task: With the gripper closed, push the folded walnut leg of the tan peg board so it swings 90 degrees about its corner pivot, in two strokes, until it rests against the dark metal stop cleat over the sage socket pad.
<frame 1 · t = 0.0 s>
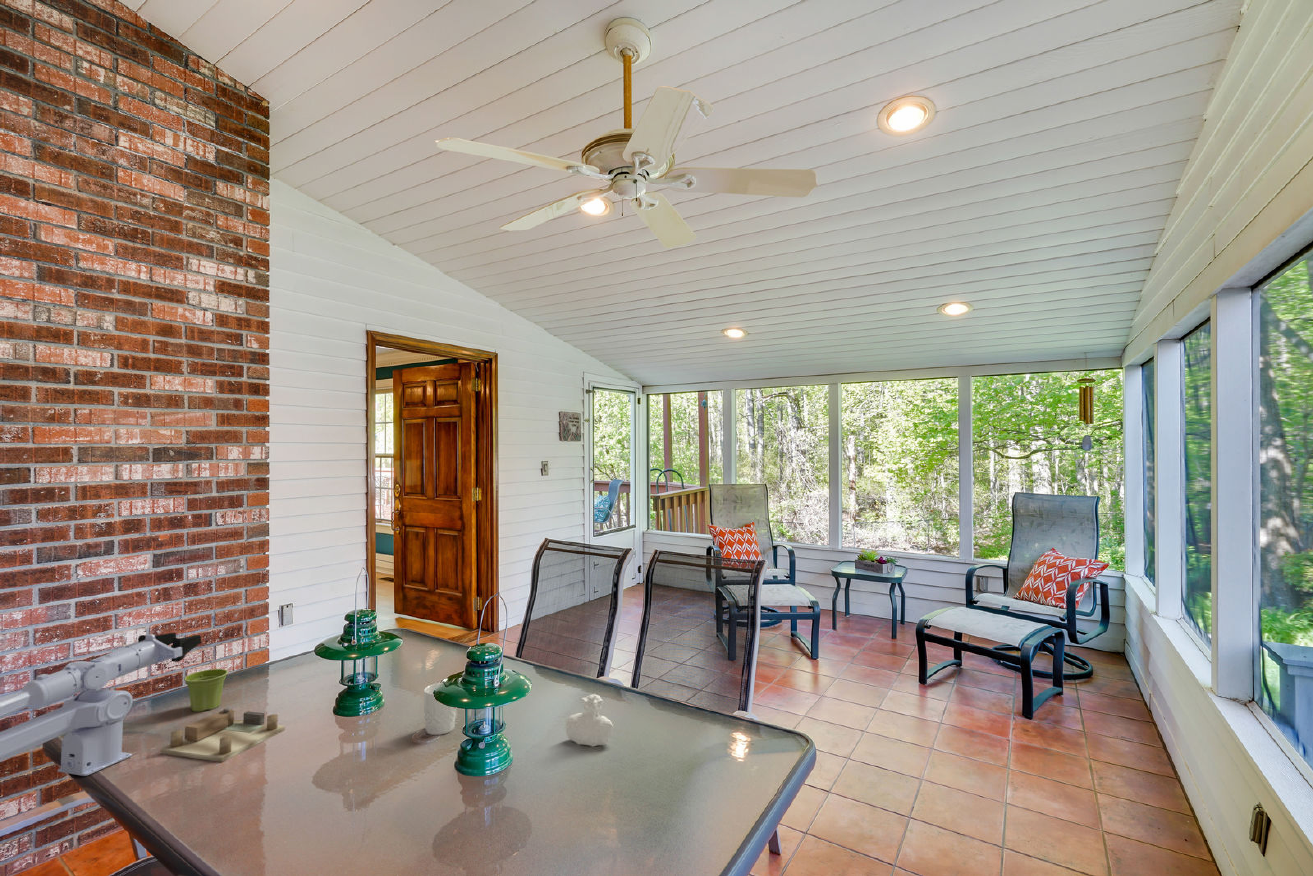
hand: (187, 638, 155), 22 cm above the table, tool horizontal, fingers open, 7 cm apart
hinged leg: (212, 723, 149), point 3 cm above the table, hinge at 0.0°
plant pot: (205, 708, 166), on the table
white sack: (590, 741, 148), on the table
tan peg board: (225, 741, 146), on the table
white cup: (440, 730, 154), on the table
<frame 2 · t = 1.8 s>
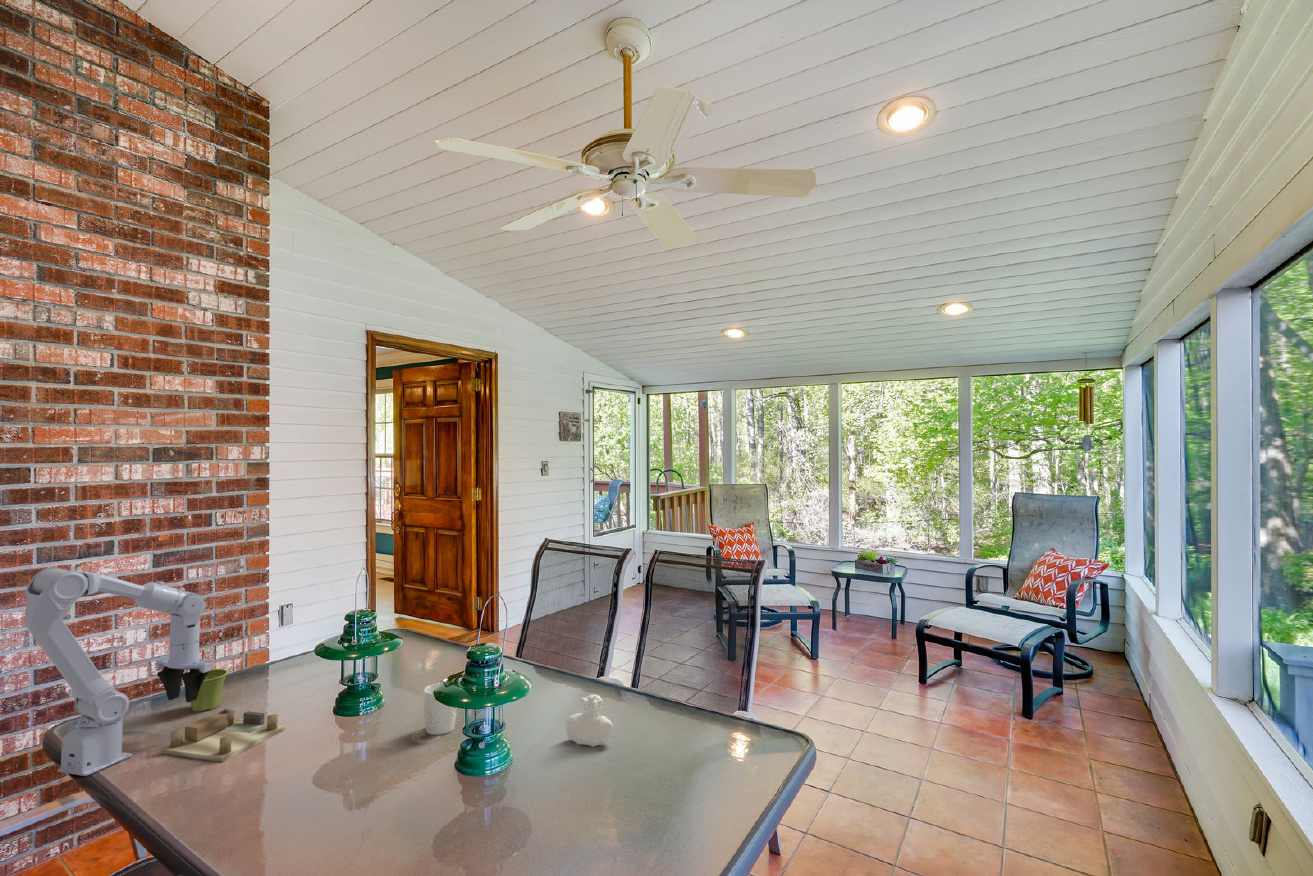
hand: (182, 699, 149), 8 cm above the table, tool pointing down, fingers open, 5 cm apart
nothing on the table moved.
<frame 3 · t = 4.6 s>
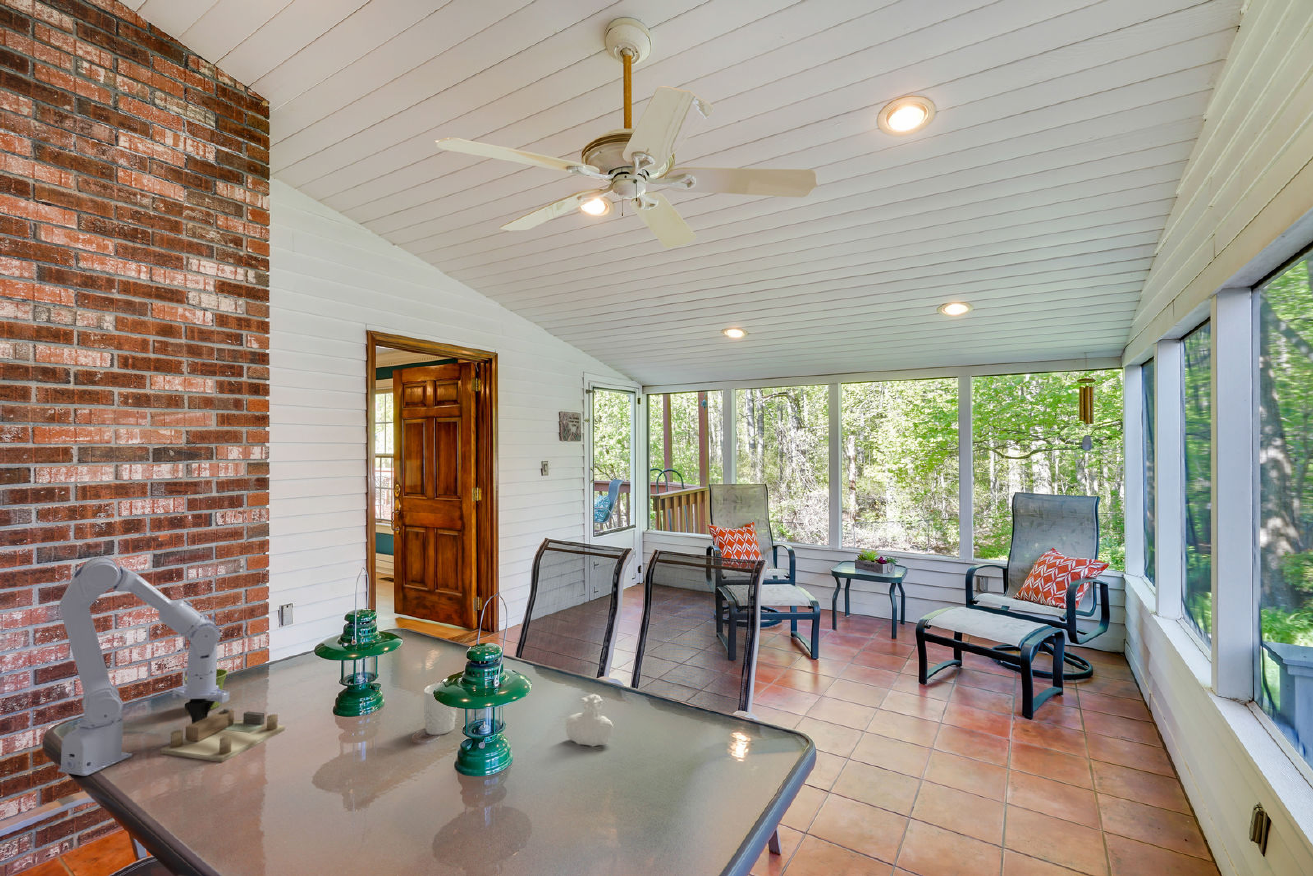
hand: (199, 730, 148), 2 cm above the table, tool pointing down, fingers closed, pressing on hinged leg
hinged leg: (212, 723, 149), point 3 cm above the table, hinge at 1.6°, touching gripper
everything else where it was.
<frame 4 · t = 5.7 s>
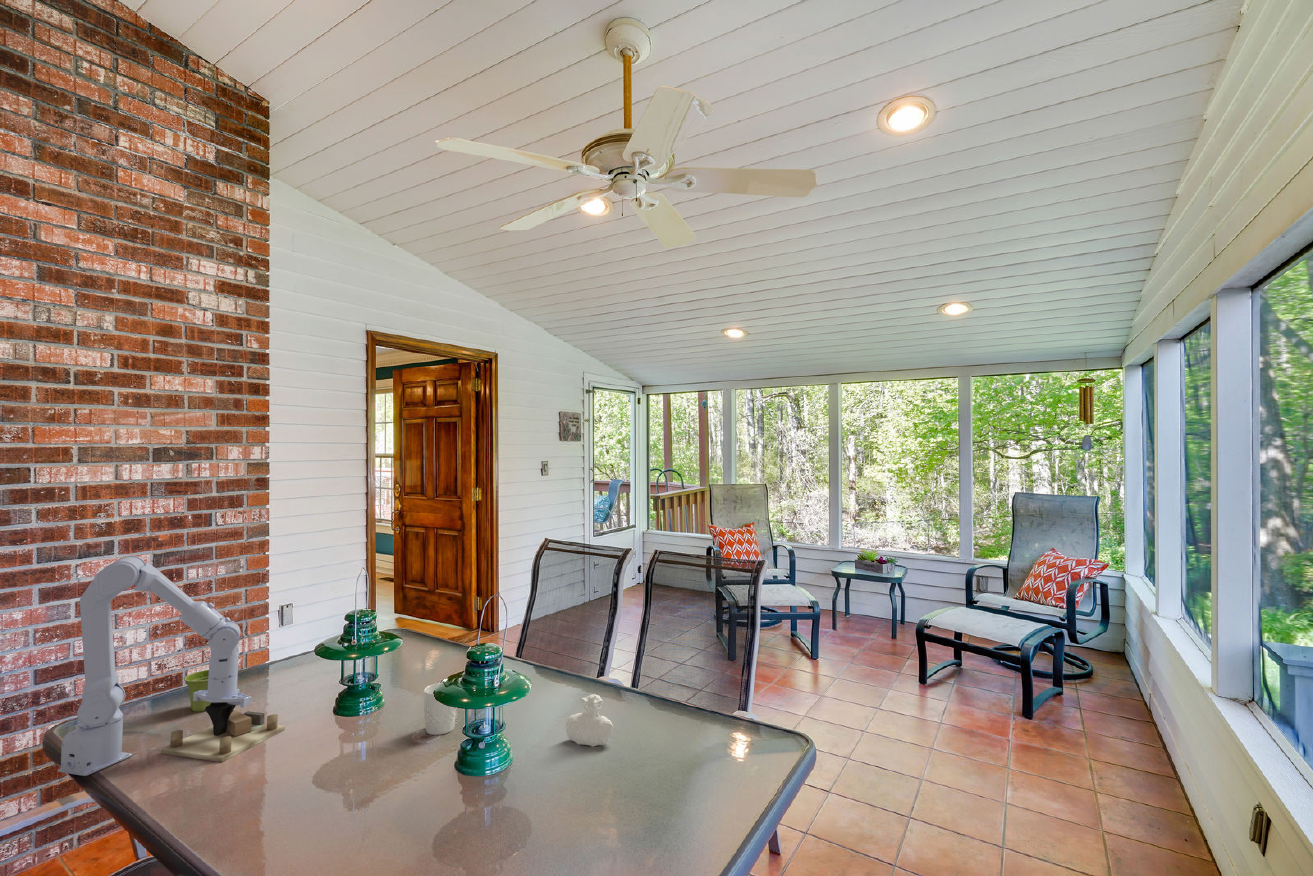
hand: (220, 734, 146), 2 cm above the table, tool pointing down, fingers closed, pressing on hinged leg
hinged leg: (233, 720, 150), point 3 cm above the table, hinge at 70.0°, touching gripper
everything else where it was.
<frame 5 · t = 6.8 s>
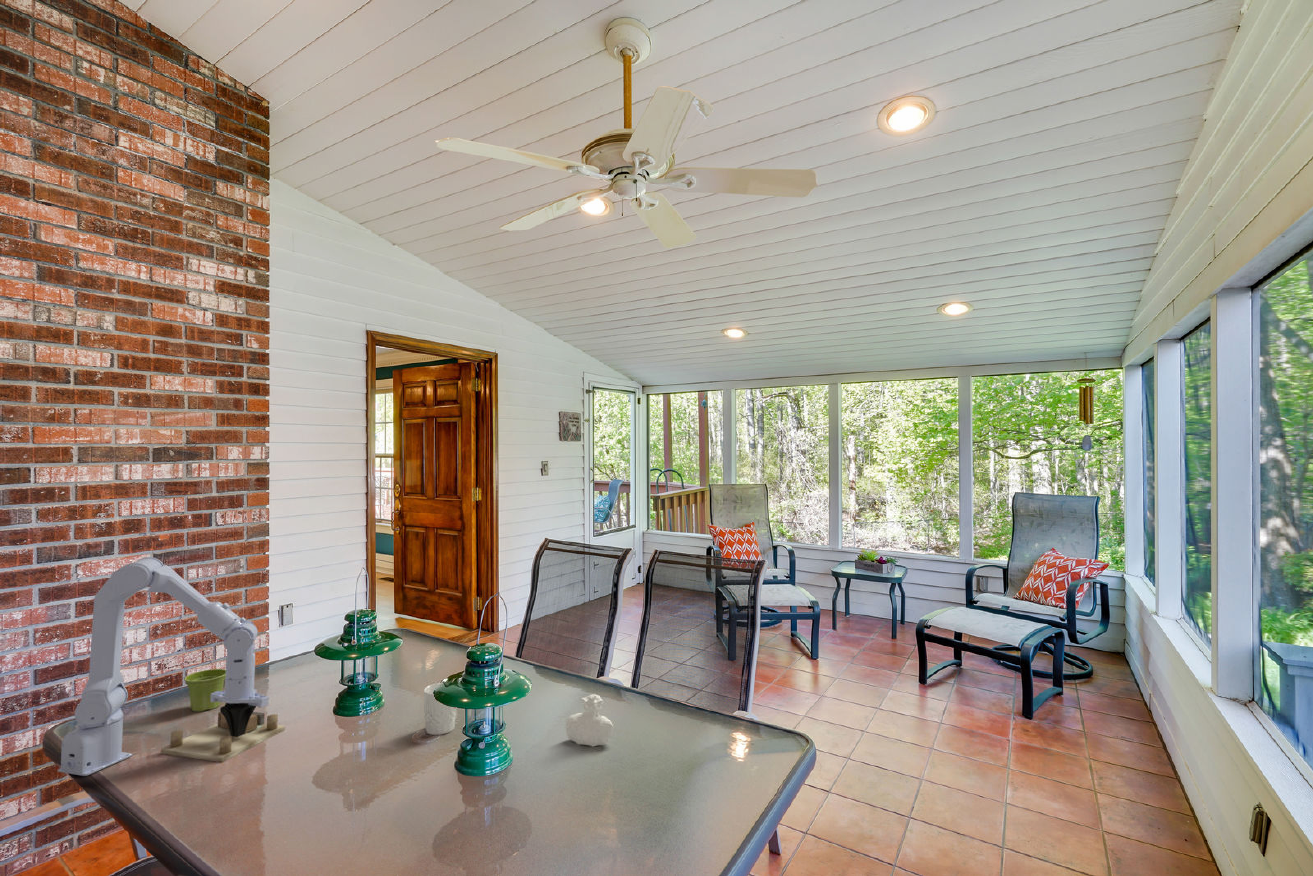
hand: (238, 735, 145), 2 cm above the table, tool pointing down, fingers closed
hinged leg: (235, 719, 151), point 3 cm above the table, hinge at 79.4°, touching gripper
everything else where it was.
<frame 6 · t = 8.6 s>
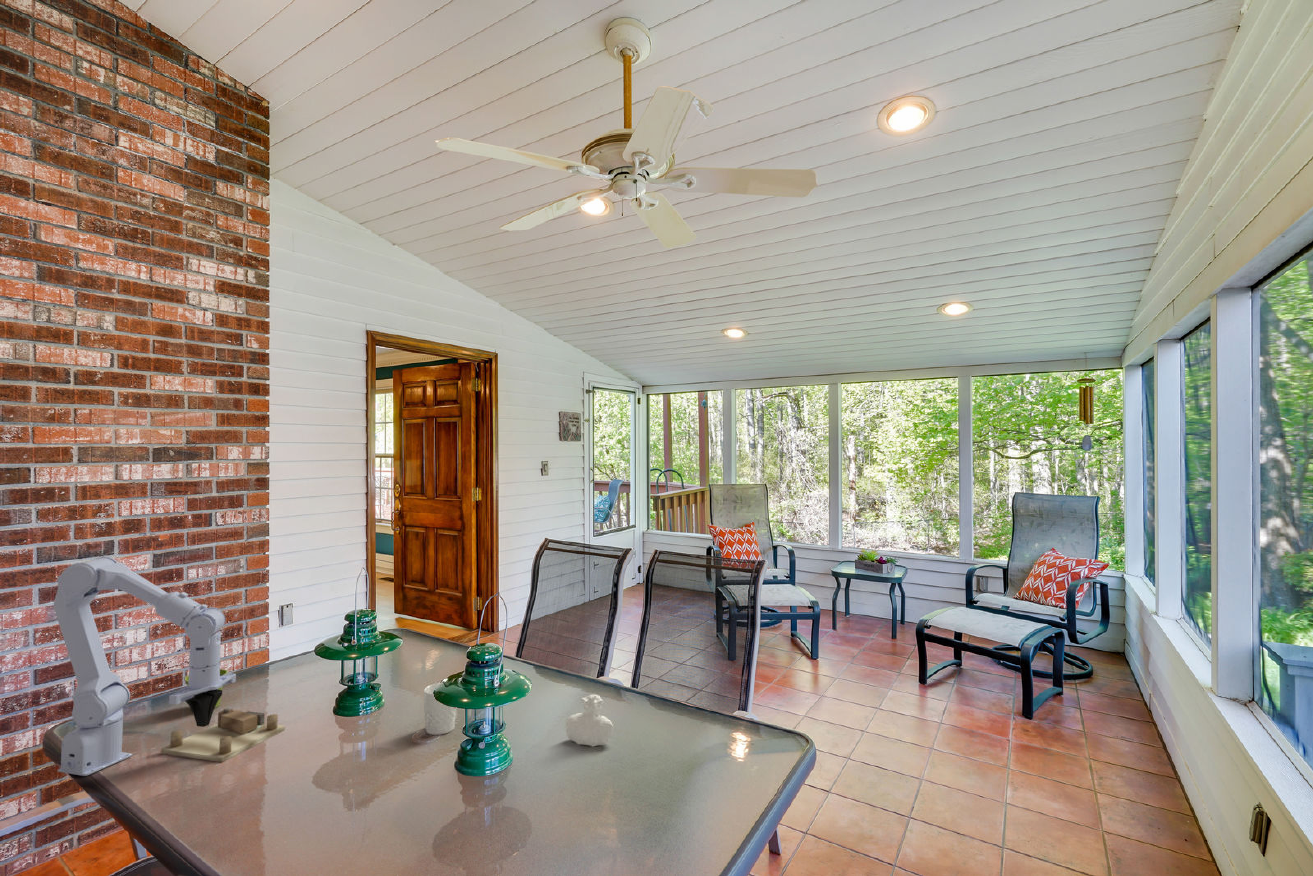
hand: (203, 725, 141), 6 cm above the table, tool pointing down, fingers closed
hinged leg: (235, 719, 151), point 3 cm above the table, hinge at 79.5°
everything else where it was.
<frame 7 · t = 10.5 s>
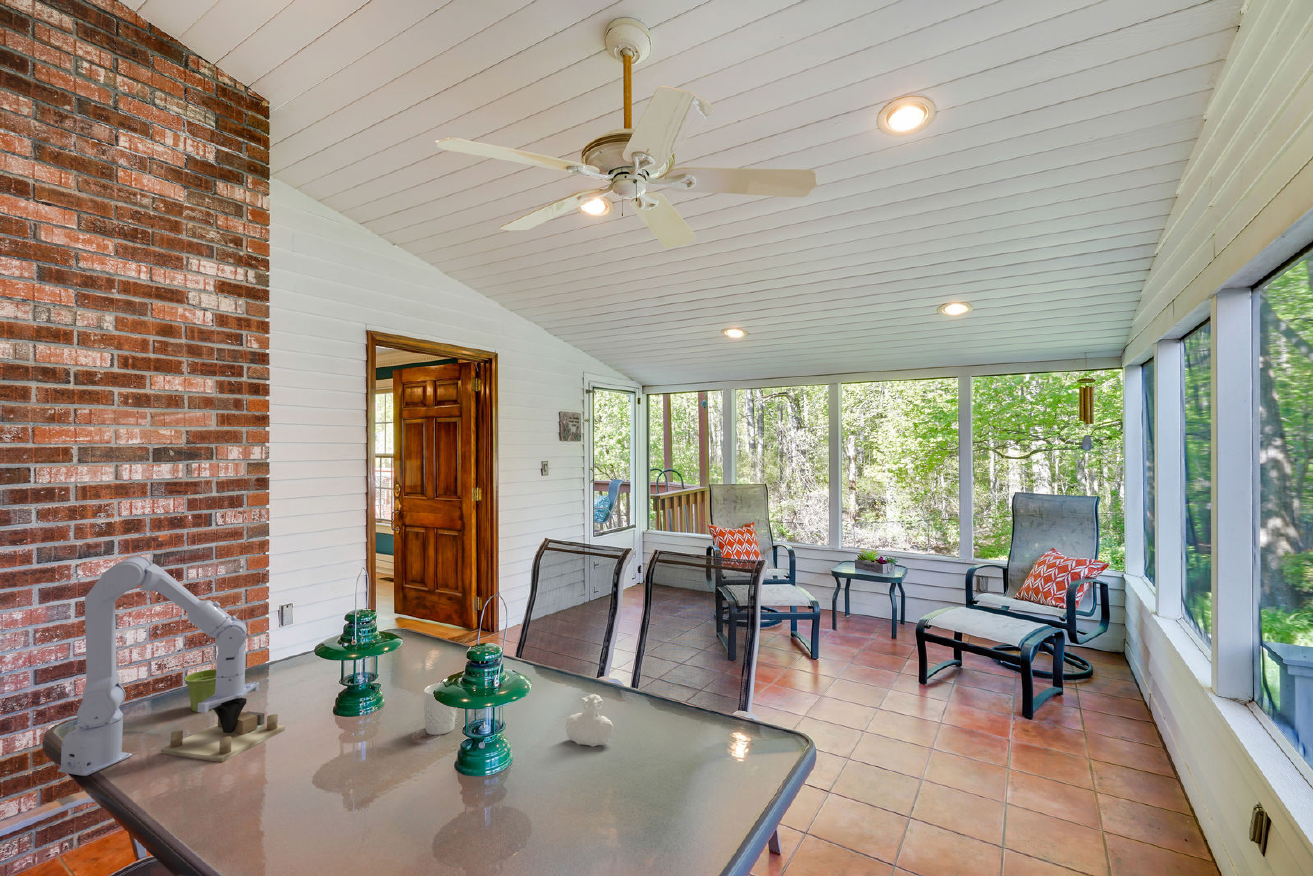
hand: (228, 732, 147), 2 cm above the table, tool pointing down, fingers closed
hinged leg: (235, 719, 151), point 3 cm above the table, hinge at 79.5°, touching gripper
everything else where it was.
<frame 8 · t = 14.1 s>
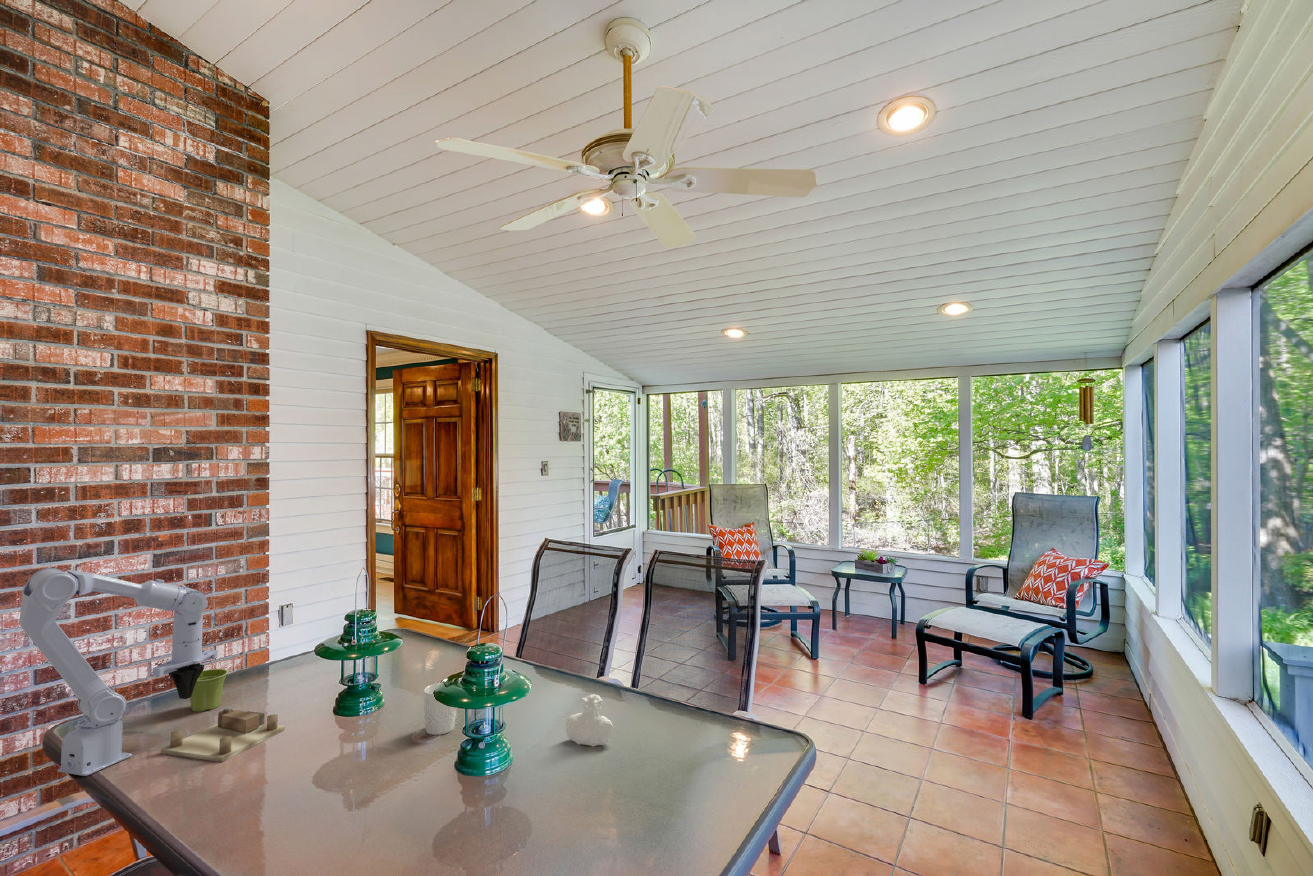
hand: (185, 697, 148), 9 cm above the table, tool pointing down, fingers closed
hinged leg: (236, 719, 151), point 3 cm above the table, hinge at 84.0°
everything else where it was.
at the end: hinged leg at +84° (first picture: +0°) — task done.
